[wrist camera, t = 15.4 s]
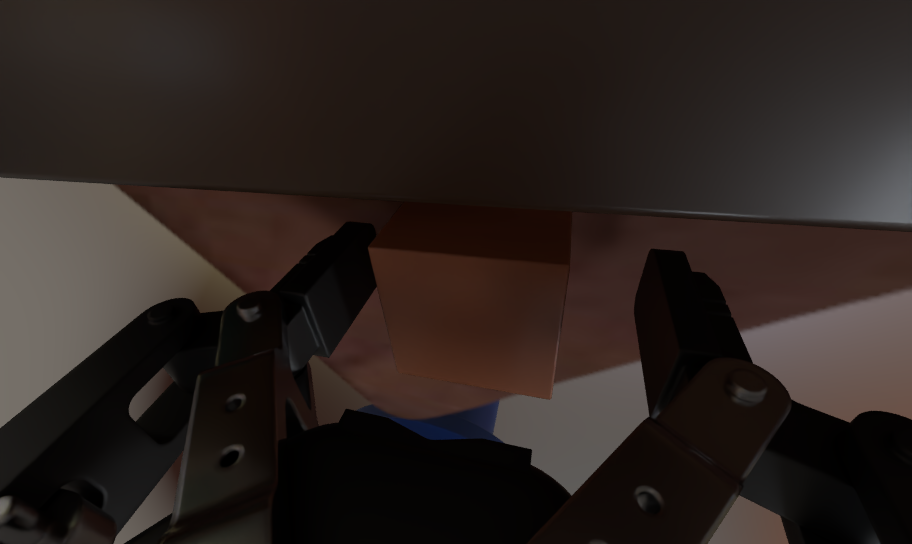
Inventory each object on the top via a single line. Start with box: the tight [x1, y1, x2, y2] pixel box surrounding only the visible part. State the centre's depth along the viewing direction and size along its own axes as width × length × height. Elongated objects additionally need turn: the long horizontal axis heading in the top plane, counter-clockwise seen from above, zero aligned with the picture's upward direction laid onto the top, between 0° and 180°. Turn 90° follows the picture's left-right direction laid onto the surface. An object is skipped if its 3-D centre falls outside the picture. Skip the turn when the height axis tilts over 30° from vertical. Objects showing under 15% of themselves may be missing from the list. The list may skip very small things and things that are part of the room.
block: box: [368, 202, 572, 400], centre depth 11 cm, size 4×4×4 cm
